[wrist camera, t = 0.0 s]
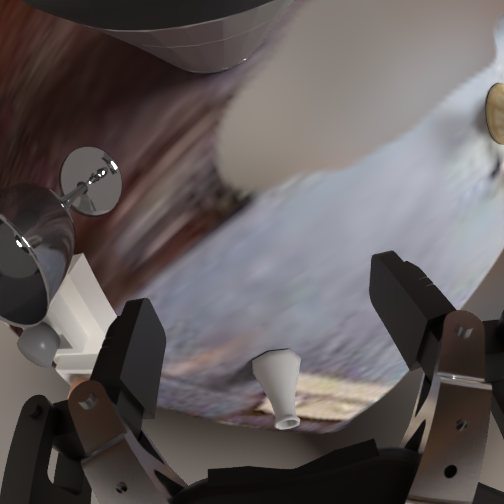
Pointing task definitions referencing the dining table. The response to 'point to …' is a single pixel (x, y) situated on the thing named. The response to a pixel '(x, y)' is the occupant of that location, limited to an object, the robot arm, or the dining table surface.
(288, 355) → the flask
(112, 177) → the wine glass
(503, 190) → the dining table surface
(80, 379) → the terracotta button
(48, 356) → the charcoal button
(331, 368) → the dining table surface
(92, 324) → the console
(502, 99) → the hand bell
